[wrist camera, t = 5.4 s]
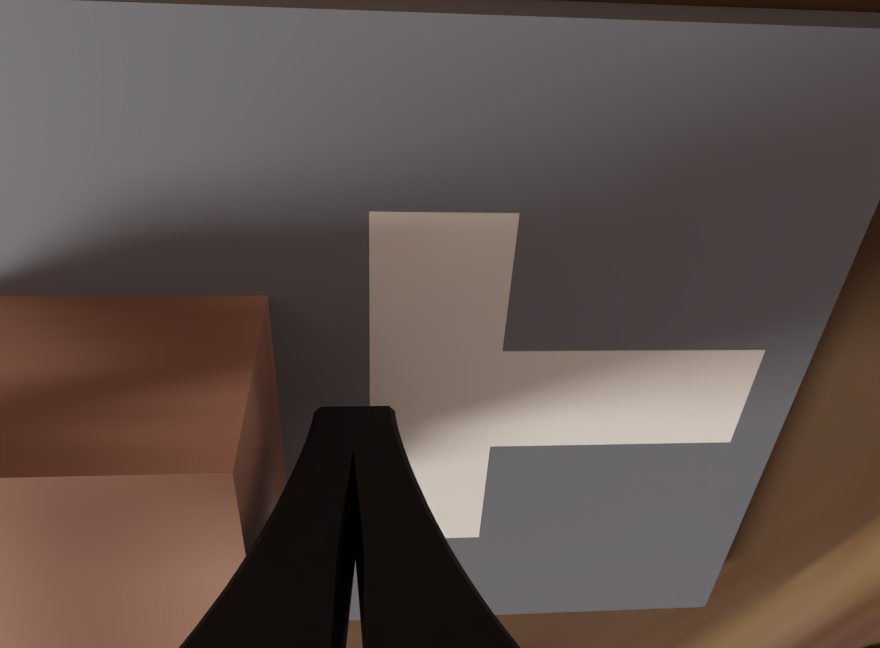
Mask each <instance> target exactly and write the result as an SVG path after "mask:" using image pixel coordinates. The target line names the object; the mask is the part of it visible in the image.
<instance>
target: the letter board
mask: <svg viewBox="0 0 880 648" xmlns="http://www.w3.org/2000/svg"><path fill="white" fill-rule="evenodd" d="M879 200H880V13H878V12H851V11H824V10H798V9H771V8H744V7H717V6H690V5H664V4H637V3H610V2H583V1H556V0H0V296H189V295H268V303H269V313H270V323H271V333H272V343H273V353H274V363H275V373H276V383H277V393H278V403H279V413H280V423H281V433H282V443H283V452H284V462H285V472H286V482H288V480H289V478H290V476H291V474H292V471H293V469H294V467H295V465H296V463H297V460H298V458H299V456H300V453H301V451H302V449H303V446H304V444H305V441H306V438H307V435H308V433H309V429H310V426H311V423H312V419H313V415H314V412H315V411H316V410H317V409H318V408H320V407H329V406H390V407H391V408H392V409H393V410H395V414H396V420H397V425H398V429H399V433H400V436H401V439H402V443H403V446H404V449H405V451H406V454H407V457H408V460H409V462H410V465H411V468H412V470H413V472H414V475H415V477H416V479H417V482H418V484H419V486H420V488H421V490H422V493H423V495H424V497H425V499H426V501H427V504H428V506H429V508H430V510H431V512H432V514H433V516H434V518H435V520H436V522H437V524H438V525H439V527H440V529H441V531H442V533H443V535H444V536H445V538H446V540H447V542H448V544H449V545H450V547H451V549H452V551H453V552H454V554H455V556H456V557H457V559H458V561H459V562H460V564H461V566H462V567H463V569H464V570H465V572H466V574H467V575H468V577H469V578H470V580H471V581H472V583H473V584H474V586H475V587H476V589H477V590H478V592H479V593H480V595H481V596H482V598H483V599H484V600H485V602H486V603H487V605H488V606H489V608H490V609H491V611H492V612H493V613H494V615H503V614H529V613H555V612H581V611H607V610H633V609H659V608H686V607H705V605H706V603H707V601H708V598H709V596H710V594H711V591H712V589H713V587H714V584H715V582H716V580H717V577H718V575H719V573H720V570H721V568H722V566H723V563H724V561H725V559H726V556H727V554H728V552H729V549H730V547H731V545H732V542H733V540H734V538H735V535H736V533H737V531H738V528H739V526H740V524H741V521H742V519H743V517H744V515H745V512H746V510H747V508H748V505H749V503H750V501H751V498H752V496H753V494H754V491H755V489H756V487H757V484H758V482H759V480H760V477H761V475H762V473H763V470H764V468H765V466H766V463H767V461H768V459H769V456H770V454H771V452H772V449H773V447H774V445H775V442H776V440H777V438H778V435H779V433H780V431H781V428H782V426H783V424H784V421H785V419H786V417H787V414H788V412H789V410H790V407H791V405H792V403H793V400H794V398H795V396H796V394H797V391H798V389H799V387H800V384H801V382H802V380H803V377H804V375H805V373H806V370H807V368H808V366H809V363H810V361H811V359H812V356H813V354H814V352H815V349H816V347H817V345H818V342H819V340H820V338H821V335H822V333H823V331H824V328H825V326H826V324H827V321H828V319H829V317H830V314H831V312H832V310H833V307H834V305H835V303H836V300H837V298H838V296H839V293H840V291H841V289H842V286H843V284H844V282H845V279H846V277H847V275H848V273H849V270H850V268H851V266H852V263H853V261H854V259H855V256H856V254H857V252H858V249H859V247H860V245H861V242H862V240H863V238H864V235H865V233H866V231H867V228H868V226H869V224H870V221H871V219H872V217H873V214H874V212H875V210H876V207H877V205H878V203H879ZM349 620H360V608H359V596H358V584H357V572H356V560H355V569H354V578H353V587H352V596H351V605H350V615H349Z"/></svg>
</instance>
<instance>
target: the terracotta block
mask: <svg viewBox="0 0 880 648" xmlns="http://www.w3.org/2000/svg"><path fill="white" fill-rule="evenodd" d="M286 484H287V482H286V472H285V462H284V452H283V443H282V433H281V423H280V413H279V403H278V393H277V383H276V373H275V363H274V353H273V343H272V333H271V323H270V313H269V303H268V295H189V296H0V648H179V647H180V645H181V644H182V643H183V642H184V641H185V639H186V638H187V637H188V636H189V634H190V633H191V632H192V631H193V629H194V628H195V627H196V626H197V624H198V623H199V622H200V620H201V619H202V618H203V616H204V615H205V614H206V612H207V611H208V610H209V608H210V607H211V606H212V604H213V603H214V602H215V600H216V599H217V598H218V596H219V595H220V594H221V592H222V591H223V589H224V588H225V587H226V585H227V584H228V582H229V581H230V579H231V578H232V576H233V575H234V574H235V572H236V571H237V569H238V568H239V566H240V565H241V563H242V562H243V560H244V558H245V557H246V555H247V554H248V552H249V550H250V549H251V547H252V546H253V544H254V542H255V541H256V539H257V537H258V535H259V534H260V532H261V530H262V529H263V527H264V525H265V523H266V522H267V520H268V518H269V516H270V515H271V513H272V511H273V509H274V508H275V506H276V504H277V502H278V500H279V498H280V496H281V494H282V492H283V490H284V488H285V486H286Z"/></svg>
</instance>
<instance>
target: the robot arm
mask: <svg viewBox="0 0 880 648" xmlns="http://www.w3.org/2000/svg"><path fill="white" fill-rule="evenodd" d="M355 560H356V572H357V584H358V596H359V608H360V620H361V632H362V644H363V648H520V647H519V645H518V644H517V643H516V642H515V640H514V639H513V638H512V637H511V635H510V634H509V633H508V631H507V630H506V629H505V628H504V626H503V625H502V624H501V622H500V621H499V620H498V619H497V617H496V616H495V615H494V613H493V612H492V611H491V609H490V608H489V606H488V605H487V603H486V602H485V600H484V599H483V598H482V596H481V595H480V593H479V592H478V590H477V589H476V587H475V586H474V584H473V583H472V581H471V580H470V578H469V577H468V575H467V574H466V572H465V570H464V569H463V567H462V566H461V564H460V562H459V561H458V559H457V557H456V556H455V554H454V552H453V551H452V549H451V547H450V545H449V544H448V542H447V540H446V538H445V536H444V535H443V533H442V531H441V529H440V527H439V525H438V524H437V522H436V520H435V518H434V516H433V514H432V512H431V510H430V508H429V506H428V504H427V501H426V499H425V497H424V495H423V493H422V490H421V488H420V486H419V484H418V482H417V479H416V477H415V475H414V472H413V470H412V468H411V465H410V462H409V460H408V457H407V454H406V451H405V449H404V446H403V443H402V439H401V436H400V433H399V429H398V425H397V420H396V414H395V410H393V409H392V408H391V407H390V406H329V407H320V408H318V409H317V410H316V411H315V412H314V415H313V419H312V423H311V426H310V429H309V433H308V435H307V438H306V441H305V444H304V446H303V449H302V451H301V453H300V456H299V458H298V460H297V463H296V465H295V467H294V469H293V471H292V474H291V476H290V478H289V480H288V482H287V484H286V486H285V488H284V490H283V492H282V494H281V496H280V498H279V500H278V502H277V504H276V506H275V508H274V509H273V511H272V513H271V515H270V516H269V518H268V520H267V522H266V523H265V525H264V527H263V529H262V530H261V532H260V534H259V535H258V537H257V539H256V541H255V542H254V544H253V546H252V547H251V549H250V550H249V552H248V554H247V555H246V557H245V558H244V560H243V562H242V563H241V565H240V566H239V568H238V569H237V571H236V572H235V574H234V575H233V576H232V578H231V579H230V581H229V582H228V584H227V585H226V587H225V588H224V589H223V591H222V592H221V594H220V595H219V596H218V598H217V599H216V600H215V602H214V603H213V604H212V606H211V607H210V608H209V610H208V611H207V612H206V614H205V615H204V616H203V618H202V619H201V620H200V622H199V623H198V624H197V626H196V627H195V628H194V629H193V631H192V632H191V633H190V634H189V636H188V637H187V638H186V639H185V641H184V642H183V643H182V644H181V645H180V647H179V648H346V642H347V633H348V624H349V615H350V605H351V596H352V587H353V578H354V569H355Z"/></svg>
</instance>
